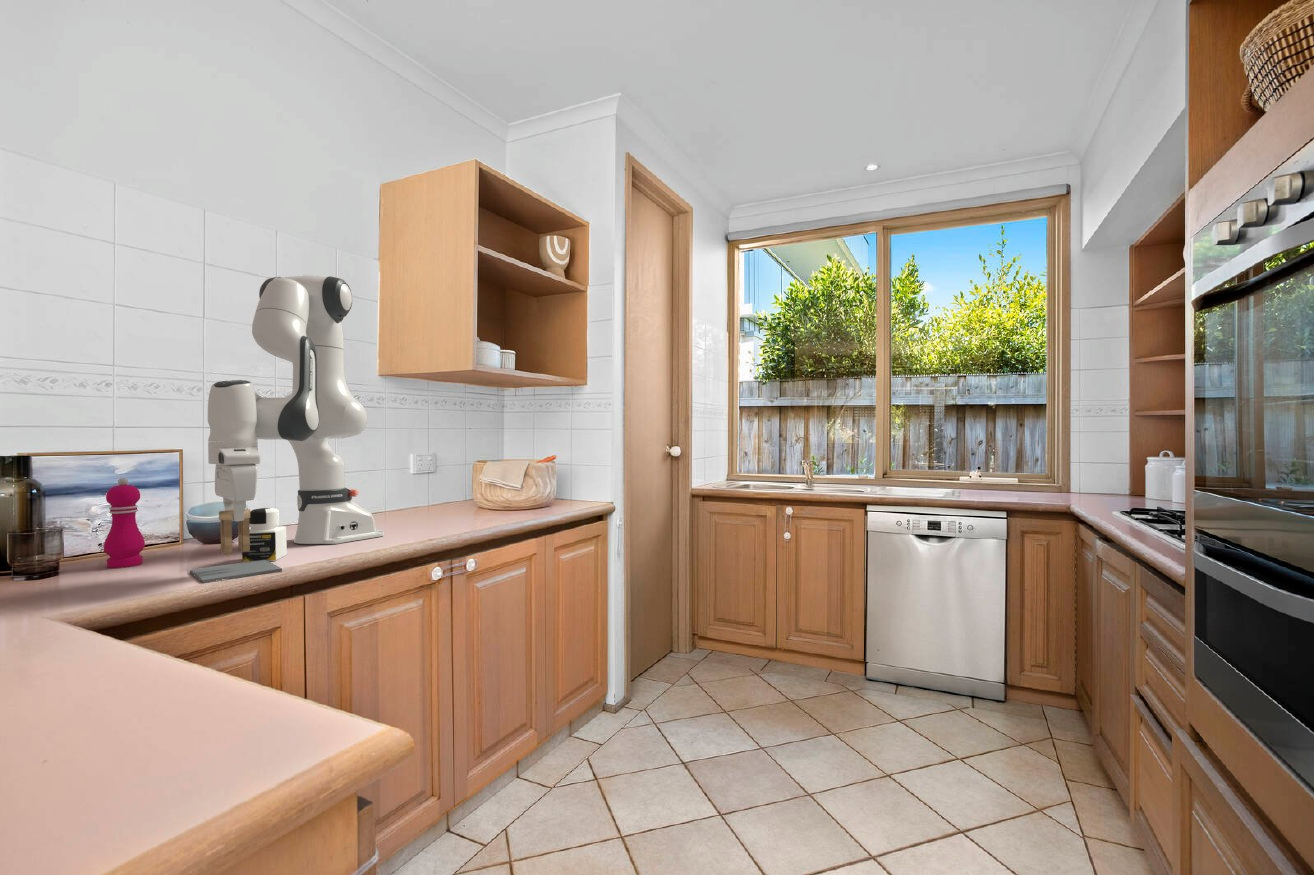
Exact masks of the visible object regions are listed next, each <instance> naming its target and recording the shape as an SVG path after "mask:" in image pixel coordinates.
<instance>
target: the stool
mask: <svg viewBox="0 0 1314 875" xmlns="http://www.w3.org/2000/svg"><path fill="white" fill-rule="evenodd" d="M250 511H251V509H247V508H245V511H244V520H243V521H237V532H238V534H237V536H238V538H237V540H238V541H237V543H238V544H237V546H238V551H241V553H242V552H250V529H251V528H250V527H249V518H250ZM218 520H219V522H220V553H223V554H224V555H232V554H233V526H232V524H233V521H234V520H233V510H225V509H224V510H220V511H218Z"/></svg>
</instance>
